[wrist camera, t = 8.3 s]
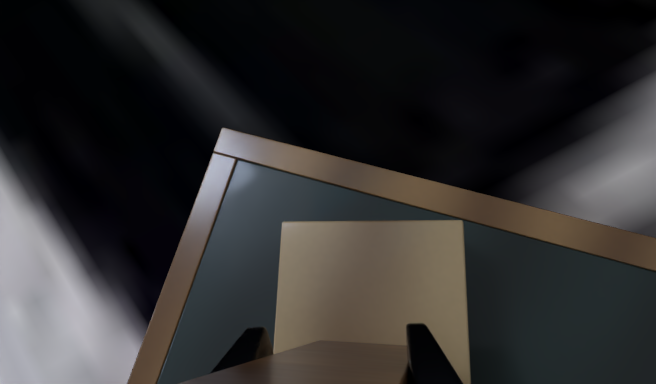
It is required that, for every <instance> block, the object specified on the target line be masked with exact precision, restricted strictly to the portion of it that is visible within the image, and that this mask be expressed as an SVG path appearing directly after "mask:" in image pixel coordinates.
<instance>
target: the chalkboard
mask: <svg viewBox="0 0 656 384" xmlns="http://www.w3.org/2000/svg"><path fill="white" fill-rule="evenodd" d="M214 152H215V153H213V154H212V157H211V160H210V162H209V165H208V168H207V170H206V173H205V176H204V178H203V181H202V184H201V187H200V189H199V192H198V195H197V197H196V200H195V203H194V205H193V208H192V211H191V213H190V216H189V219H188V221H187V224H186V227H185V229H184V232H183V235H182V238H181V240H180V243H179V246H178V248H177V251H176V254H175V256H174V259H173V262H172V264H171V267H170V270H169V272H168V275H167V278H166V281H165V283H164V286H163V289H162V291H161V294H160V297H159V299H158V302H157V305H156V307H155V310H154V313H153V315H152V318H151V321H150V323H149V326H148V329H147V332H146V334H145V337H144V340H143V342H142V345H141V348H140V350H139V353H138V356H137V358H136V361H135V364H134V366H133V369H132V372H131V374H130V377H129V380H128V383H127V384H178V383H182V382H185V381H188V380H191V379H195V378H198V377H201V376H205V375H208V374H210V372H211V371H212V370H213V369H214V367H215V366H216V365H217V364H218V363H219V361H220V360H221V359H222V358H223V357H224V355H225V354H226V353H227V352H228V350H229V349H230V348H231V347H232V346H233V344H234V343H235V342H236V341H237V340H238V338H239V337H240V336H241V335H242V333H243V332H244V331H245V330H246V329H247V328H249V327H261V326H263V327H265V328H266V329H267V331H268V334H269V337H270V341H271V344H272V347H273V349H274V334H275V319H276V304H277V289H278V274H279V259H280V245H281V230H282V222H284V221H399V220H462V221H463V224H464V245H465V267H466V288H467V310H468V331H469V353H470V374H471V384H656V238H653V237H649V236H645V235H641V234H637V233H634V232H630V231H626V230H622V229H618V228H614V227H610V226H606V225H602V224H598V223H594V222H591V221H587V220H583V219H579V218H575V217H571V216H567V215H563V214H559V213H555V212H552V211H548V210H544V209H540V208H536V207H532V206H528V205H524V204H520V203H516V202H512V201H509V200H505V199H501V198H497V197H493V196H489V195H485V194H481V193H477V192H473V191H469V190H466V189H462V188H458V187H454V186H450V185H446V184H442V183H438V182H434V181H430V180H426V179H423V178H419V177H415V176H411V175H407V174H403V173H399V172H395V171H391V170H387V169H384V168H380V167H376V166H372V165H368V164H364V163H360V162H356V161H352V160H348V159H344V158H341V157H337V156H333V155H329V154H325V153H321V152H317V151H313V150H309V149H305V148H301V147H298V146H294V145H290V144H286V143H282V142H278V141H274V140H270V139H266V138H262V137H258V136H255V135H251V134H247V133H243V132H239V131H235V130H231V129H227V128H222V130H221V132H220V135H219V138H218V140H217V143H216V146H215V148H214Z"/></svg>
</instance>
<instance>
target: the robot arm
mask: <svg viewBox="0 0 656 384" xmlns="http://www.w3.org/2000/svg"><path fill="white" fill-rule="evenodd" d="M406 343H407V359H408V363H409V372H410V384H463V382H462V381H461V379H460V377H459V376H458V374H457V373H456V371H455V370H454V368H453V366H452V365H451V363H450V362H449V360H448V358H447V357H446V355H445V354H444V352H443V351H442V349H441V347H440V346H439V344H438V343H437V341H436V339H435V338H434V336H433V335H432V333H431V332H430V330H429V328H428V327H427V326H426V325H425V324H424V323H409V324H407V325H406ZM273 354H274V353H273V347H272V344H271V341H270V337H269V334H268V331H267V329H266V328H265V327H263V326H261V327H249V328H247V329H246V330H245V331H244V332H243V333H242V335H241V336H240V337H239V338H238V340H237V341H236V342H235V343H234V344H233V346H232V347H231V348H230V349H229V350H228V352H227V353H226V354H225V355H224V357H223V358H222V359H221V360H220V361H219V363H218V364H217V365H216V366H215V367H214V369H213V370H212V371H211V372H210V374H211V373H214V372H218V371H221V370H224V369H227V368H231V367H234V366H237V365H240V364H244V363H247V362H250V361H253V360H257V359H260V358H263V357H267V356H270V355H273Z"/></svg>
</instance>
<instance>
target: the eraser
mask: <svg viewBox="0 0 656 384" xmlns="http://www.w3.org/2000/svg"><path fill="white" fill-rule="evenodd" d="M409 323H424V324H425V325H426V326H427V327H428V328H429V330H430V332H431V333H432V335H433V336H434V338H435V339H436V341H437V343H438V344H439V346H440V347H441V349H442V351H443V352H444V354H445V355H446V357H447V358H448V360H449V362H450V363H451V365H452V366H453V368H454V370H455V371H456V373H457V374H458V376H459V377H460V379H461V381H462V382H463V384H471V374H470V353H469V331H468V310H467V288H466V267H465V245H464V224H463V221H462V220H399V221H284V222H282V230H281V245H280V259H279V274H278V289H277V304H276V319H275V334H274V349H273V353H274V354H273V355H270V356H267V357H263V358H260V359H257V360H253V361H250V362H247V363H244V364H240V365H237V366H234V367H231V368H227V369H224V370H221V371H218V372H214V373H211V374H208V375H205V376H201V377H198V378H195V379H191V380H188V381H185V382H182V383H178V384H410V372H409V363H408V359H407V343H406V325H407V324H409Z"/></svg>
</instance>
